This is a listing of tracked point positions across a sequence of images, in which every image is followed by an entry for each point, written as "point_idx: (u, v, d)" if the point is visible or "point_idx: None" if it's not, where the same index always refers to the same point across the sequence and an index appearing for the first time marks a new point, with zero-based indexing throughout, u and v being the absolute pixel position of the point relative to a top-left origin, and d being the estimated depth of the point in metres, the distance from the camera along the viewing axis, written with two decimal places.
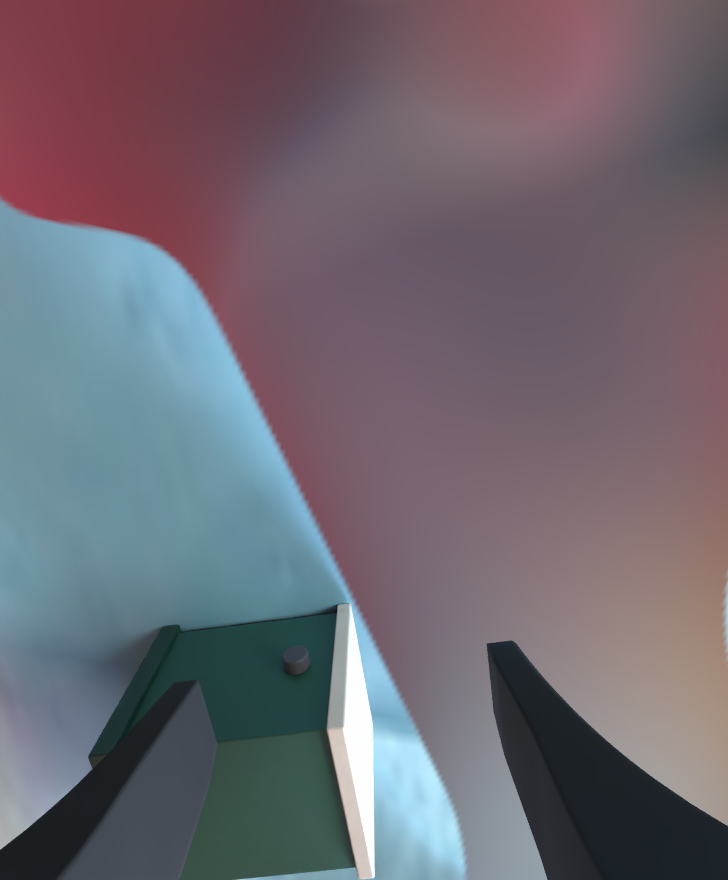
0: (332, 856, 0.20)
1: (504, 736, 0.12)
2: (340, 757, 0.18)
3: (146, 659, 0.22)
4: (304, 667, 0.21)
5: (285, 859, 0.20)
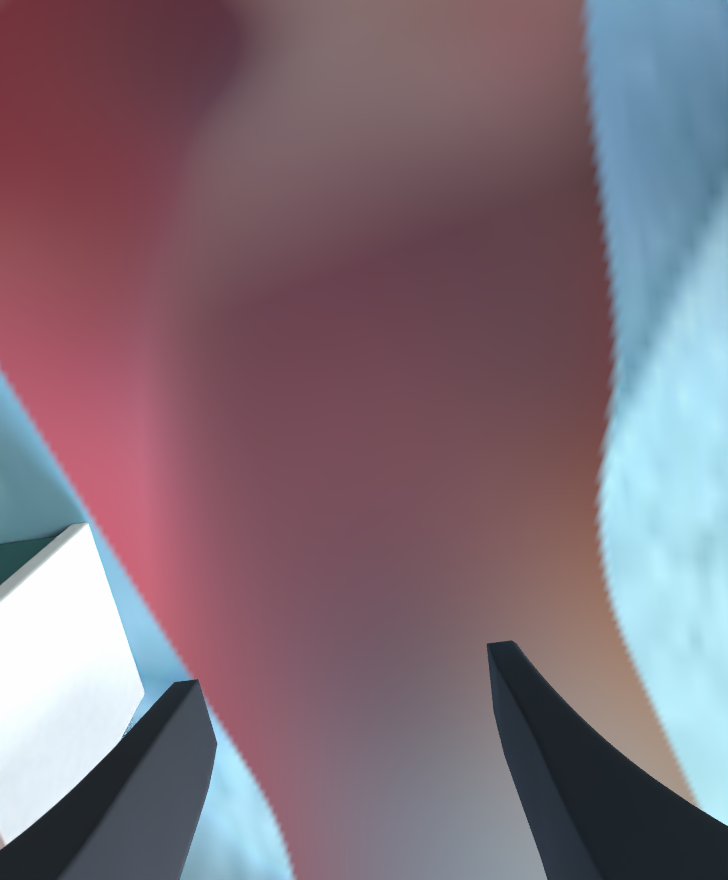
0: None
1: (504, 736, 0.12)
2: None
3: None
4: None
5: None
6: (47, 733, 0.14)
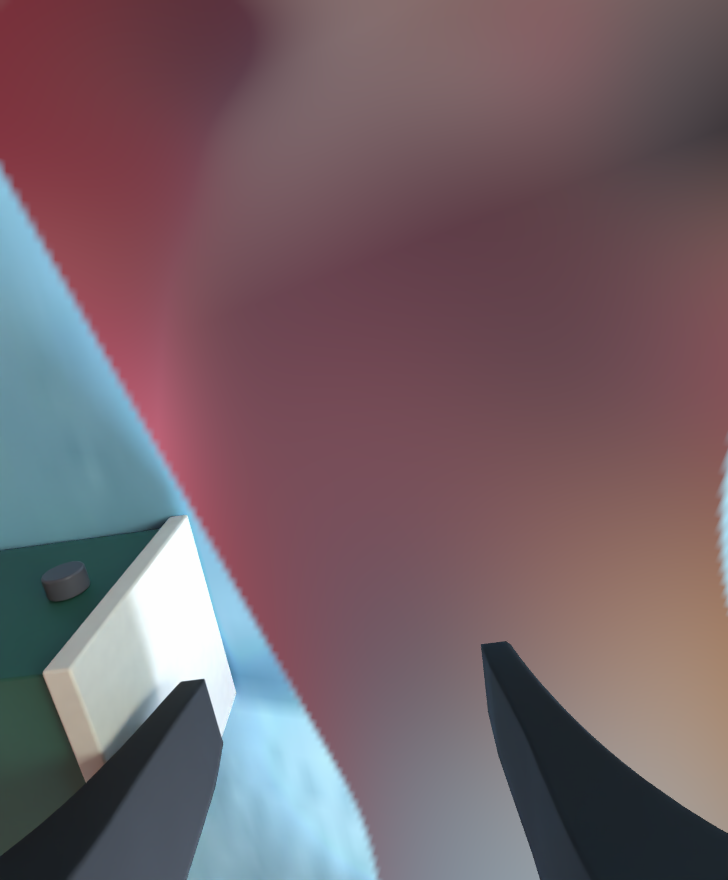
0: None
1: (498, 737, 0.12)
2: (73, 721, 0.11)
3: None
4: (73, 590, 0.13)
5: None
6: None
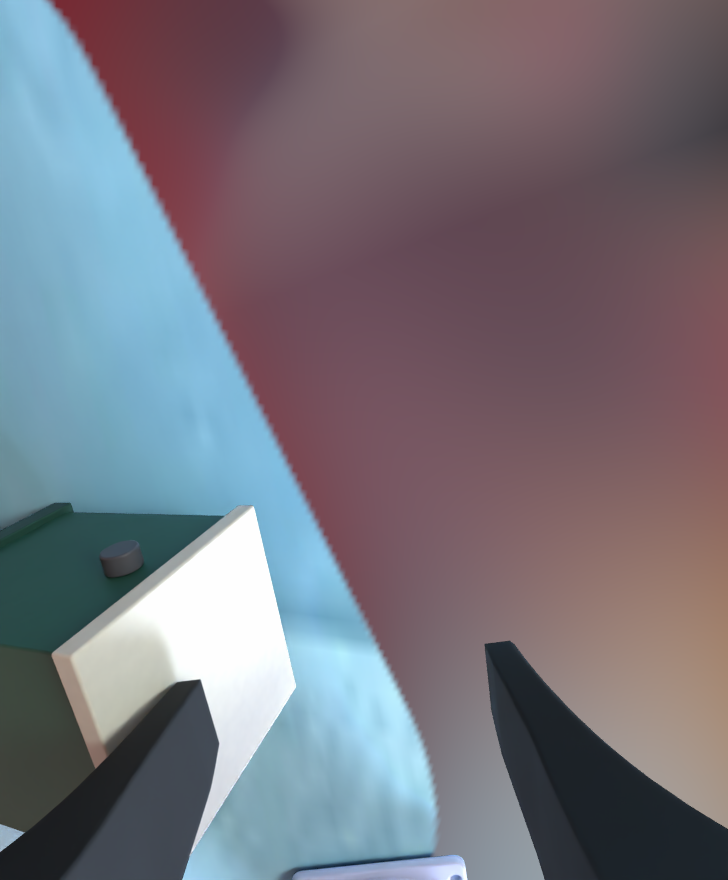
0: None
1: (502, 736, 0.12)
2: (77, 704, 0.11)
3: (2, 531, 0.18)
4: (123, 569, 0.14)
5: None
6: None
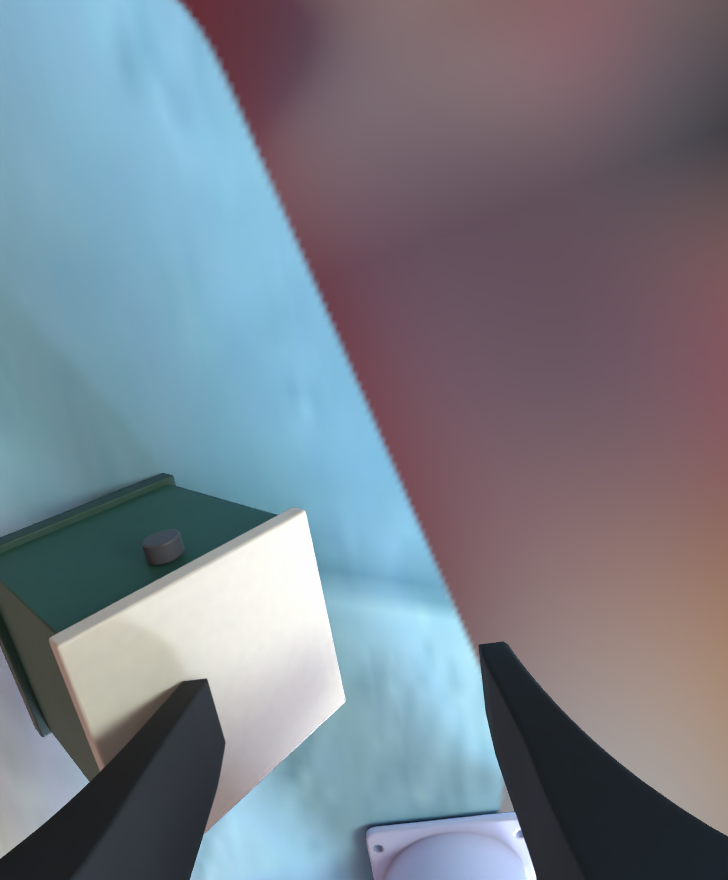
0: None
1: (495, 737, 0.12)
2: (69, 689, 0.12)
3: (110, 494, 0.20)
4: (158, 559, 0.14)
5: None
6: None
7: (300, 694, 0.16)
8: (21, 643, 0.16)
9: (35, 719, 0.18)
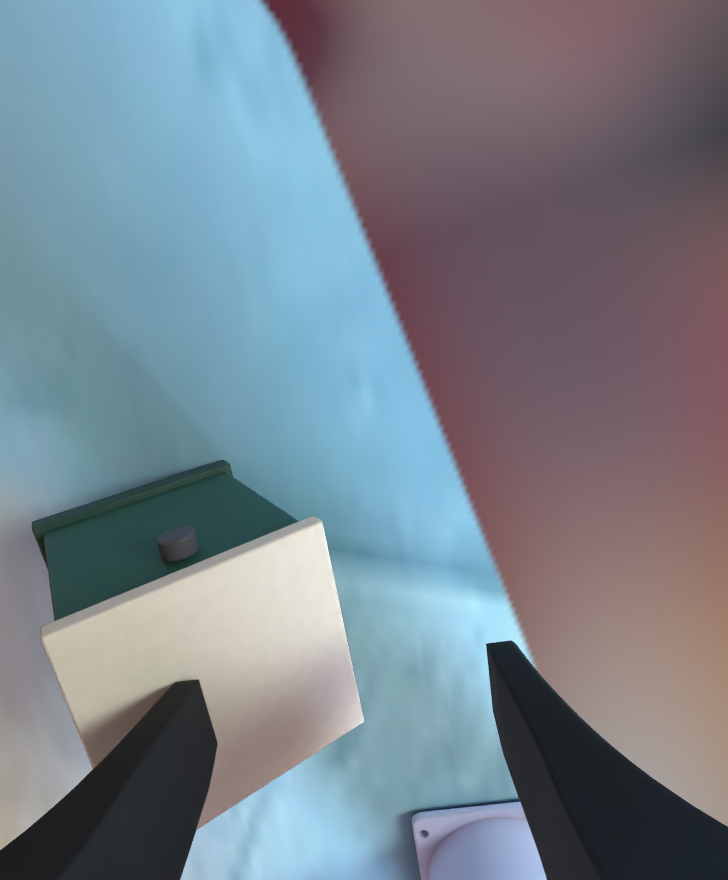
0: None
1: (503, 736, 0.12)
2: None
3: (169, 478, 0.21)
4: (169, 556, 0.14)
5: None
6: None
7: (308, 709, 0.16)
8: None
9: None
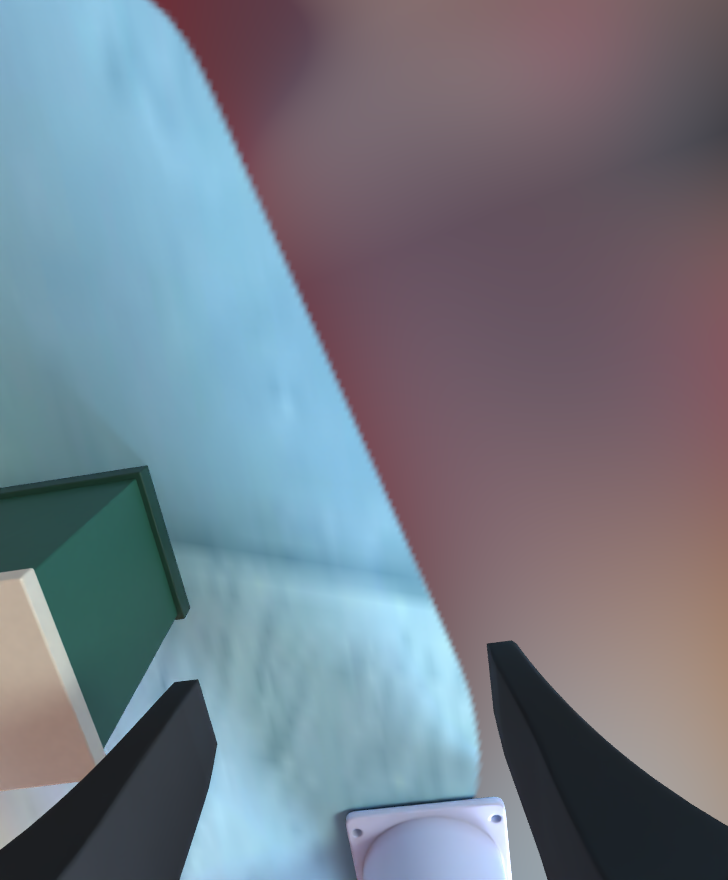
0: None
1: (504, 736, 0.12)
2: None
3: (94, 474, 0.22)
4: None
5: None
6: None
7: (30, 745, 0.16)
8: None
9: None
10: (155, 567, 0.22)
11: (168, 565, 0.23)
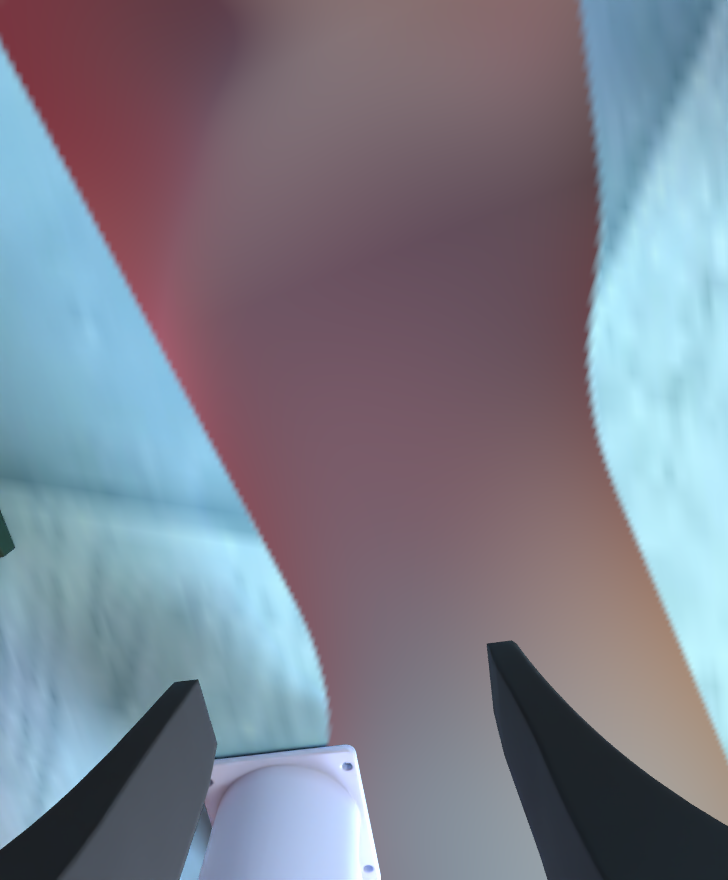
0: None
1: (504, 736, 0.12)
2: None
3: None
4: None
5: None
6: None
7: None
8: None
9: None
10: None
11: None
